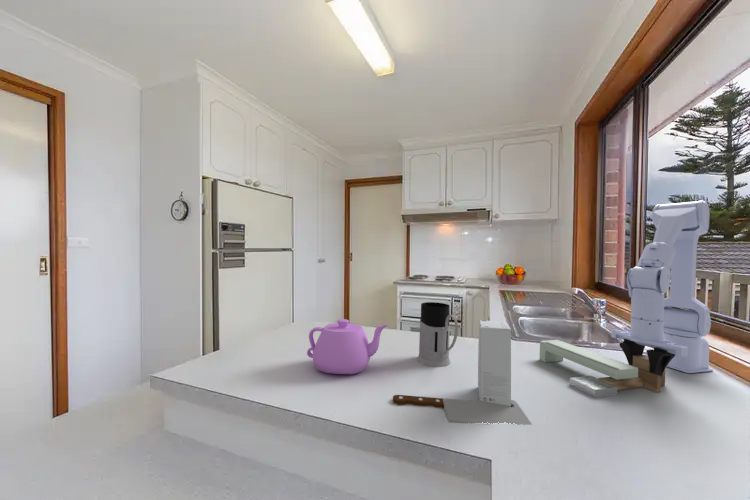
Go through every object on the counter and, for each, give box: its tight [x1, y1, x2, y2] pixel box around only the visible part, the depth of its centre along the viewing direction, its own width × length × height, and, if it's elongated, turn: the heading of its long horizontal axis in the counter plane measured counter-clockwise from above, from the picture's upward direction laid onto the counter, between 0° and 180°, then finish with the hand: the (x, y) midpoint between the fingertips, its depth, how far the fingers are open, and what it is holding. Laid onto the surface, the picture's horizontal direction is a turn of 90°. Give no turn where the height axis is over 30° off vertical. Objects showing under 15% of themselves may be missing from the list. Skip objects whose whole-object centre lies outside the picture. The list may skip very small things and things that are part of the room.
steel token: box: [569, 375, 618, 399], centre depth 67 cm, size 6×6×2 cm
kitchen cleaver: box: [392, 394, 533, 426], centre depth 56 cm, size 24×1×10 cm
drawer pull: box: [539, 339, 638, 379], centre depth 76 cm, size 6×21×6 cm, turn 15°
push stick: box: [597, 353, 666, 393], centre depth 70 cm, size 16×8×6 cm, turn 105°
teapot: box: [306, 318, 389, 376], centre depth 75 cm, size 20×13×12 cm, turn 85°
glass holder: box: [417, 301, 459, 368], centre depth 79 cm, size 9×14×15 cm, turn 21°
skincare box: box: [477, 319, 512, 407], centre depth 62 cm, size 8×6×15 cm
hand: (645, 377), depth 71 cm, fingers closed on push stick, 3 cm apart
